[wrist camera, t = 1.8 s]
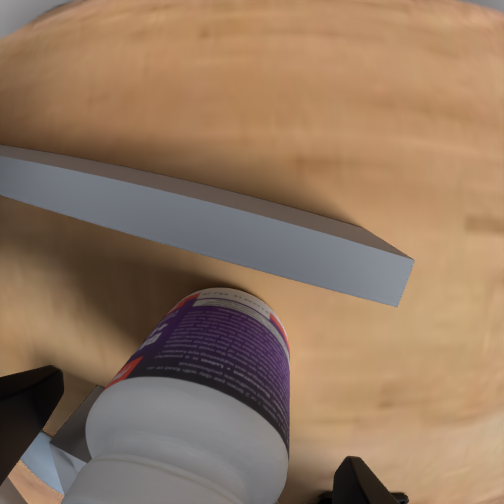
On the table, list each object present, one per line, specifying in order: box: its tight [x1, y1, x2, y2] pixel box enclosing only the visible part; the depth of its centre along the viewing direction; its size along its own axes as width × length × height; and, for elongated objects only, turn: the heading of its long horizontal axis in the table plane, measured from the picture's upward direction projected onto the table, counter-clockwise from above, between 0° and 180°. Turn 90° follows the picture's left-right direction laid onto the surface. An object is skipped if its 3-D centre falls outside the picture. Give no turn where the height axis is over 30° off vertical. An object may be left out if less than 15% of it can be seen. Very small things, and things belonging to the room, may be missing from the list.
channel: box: [0, 145, 415, 504], centre depth 12 cm, size 21×19×5 cm
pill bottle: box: [61, 288, 290, 504], centre depth 9 cm, size 5×5×10 cm
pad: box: [20, 431, 64, 495], centre depth 18 cm, size 9×9×1 cm
